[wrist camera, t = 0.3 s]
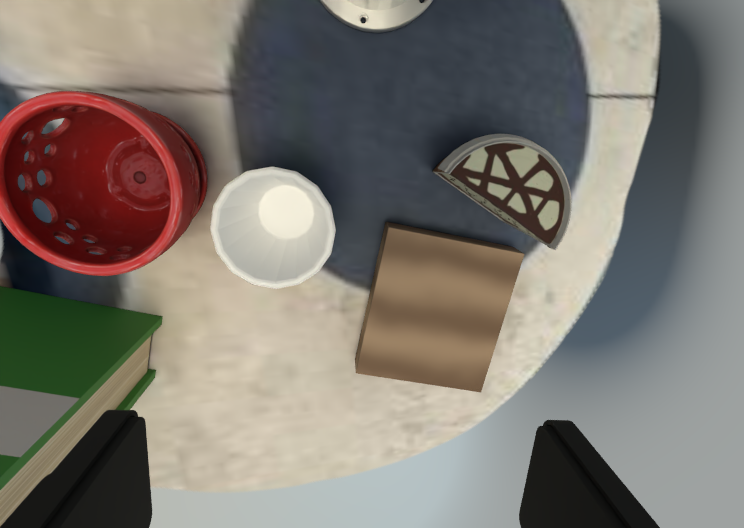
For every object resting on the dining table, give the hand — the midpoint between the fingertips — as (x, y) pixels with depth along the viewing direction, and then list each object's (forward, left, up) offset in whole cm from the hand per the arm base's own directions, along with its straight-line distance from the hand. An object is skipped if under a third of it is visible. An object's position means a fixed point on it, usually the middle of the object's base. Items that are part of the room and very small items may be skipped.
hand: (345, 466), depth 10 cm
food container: (-7, +13, -35) cm, 38 cm away
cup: (+1, -6, -35) cm, 36 cm away
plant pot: (0, -19, -35) cm, 40 cm away
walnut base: (+8, +11, -35) cm, 38 cm away
